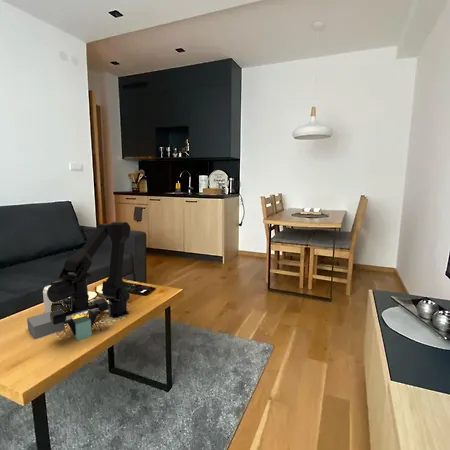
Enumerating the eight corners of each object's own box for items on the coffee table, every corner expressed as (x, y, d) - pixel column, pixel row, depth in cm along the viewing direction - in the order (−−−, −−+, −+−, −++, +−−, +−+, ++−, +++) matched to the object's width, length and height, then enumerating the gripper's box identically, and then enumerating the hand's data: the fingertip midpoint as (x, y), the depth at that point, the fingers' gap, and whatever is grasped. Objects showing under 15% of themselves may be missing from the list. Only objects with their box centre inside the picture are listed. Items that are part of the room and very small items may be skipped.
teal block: (87, 330, 113) (86, 315, 112) (91, 335, 109) (90, 320, 108) (73, 335, 109) (72, 319, 108) (77, 340, 106) (75, 324, 105)
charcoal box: (57, 321, 121) (55, 309, 120) (65, 329, 114) (63, 317, 113) (28, 330, 114) (26, 318, 113) (35, 339, 107) (33, 326, 106)
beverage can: (70, 309, 131) (68, 283, 129) (58, 318, 123) (56, 290, 121) (53, 309, 132) (51, 283, 130) (40, 317, 124) (37, 290, 122)
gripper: (98, 280, 119) (100, 317, 121) (44, 292, 107) (48, 333, 109) (108, 288, 110) (110, 327, 113) (51, 301, 98) (55, 345, 101)
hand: (82, 332), depth 109 cm, fingers closed on teal block, 5 cm apart
